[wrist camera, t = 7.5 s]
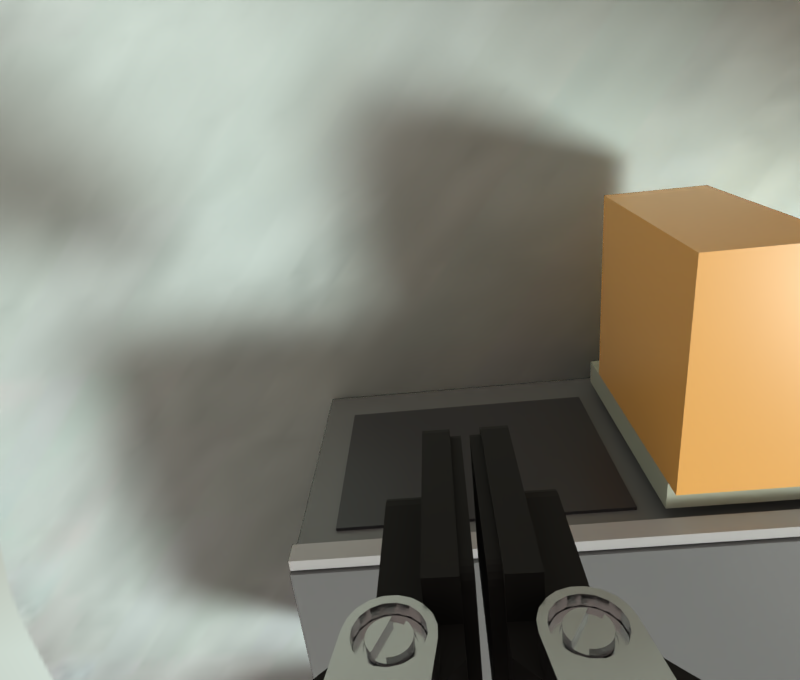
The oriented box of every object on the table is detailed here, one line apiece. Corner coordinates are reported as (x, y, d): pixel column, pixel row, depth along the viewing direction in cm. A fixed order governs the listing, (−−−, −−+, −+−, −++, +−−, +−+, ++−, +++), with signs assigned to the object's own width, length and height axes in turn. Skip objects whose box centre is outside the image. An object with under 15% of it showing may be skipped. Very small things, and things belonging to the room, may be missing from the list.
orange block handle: (892, 159, 19) (1176, 208, 12) (850, 359, 21) (1060, 494, 14) (594, 189, 19) (699, 252, 12) (590, 381, 22) (673, 521, 15)
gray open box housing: (933, 340, 22) (1248, 499, 14) (865, 595, 27) (1068, 825, 19) (331, 391, 23) (287, 564, 15) (370, 626, 28) (354, 854, 20)
